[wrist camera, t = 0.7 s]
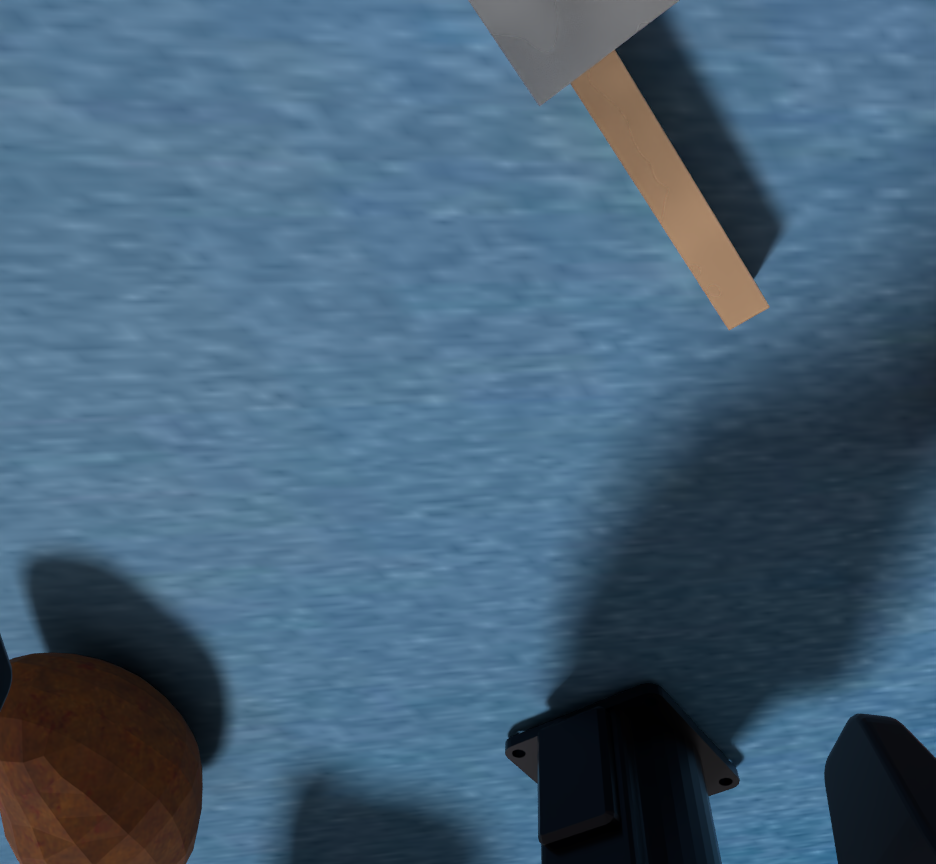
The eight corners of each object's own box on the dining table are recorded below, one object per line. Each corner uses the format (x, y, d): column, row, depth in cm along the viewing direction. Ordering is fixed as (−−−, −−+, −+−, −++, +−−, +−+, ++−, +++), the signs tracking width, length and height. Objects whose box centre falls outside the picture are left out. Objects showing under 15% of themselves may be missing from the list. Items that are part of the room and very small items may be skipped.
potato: (125, 588, 27) (26, 762, 22) (273, 783, 33) (224, 956, 28) (-22, 619, 28) (-150, 789, 23) (146, 801, 34) (76, 969, 29)
